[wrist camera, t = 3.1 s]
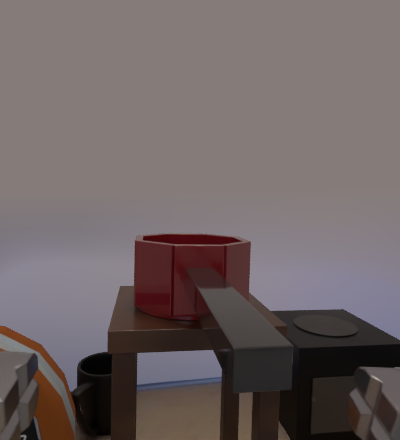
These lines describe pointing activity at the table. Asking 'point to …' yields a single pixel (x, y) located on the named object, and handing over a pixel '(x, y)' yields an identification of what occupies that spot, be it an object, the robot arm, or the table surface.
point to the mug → (94, 394)
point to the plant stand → (176, 341)
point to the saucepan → (213, 303)
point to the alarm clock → (45, 392)
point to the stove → (328, 370)
